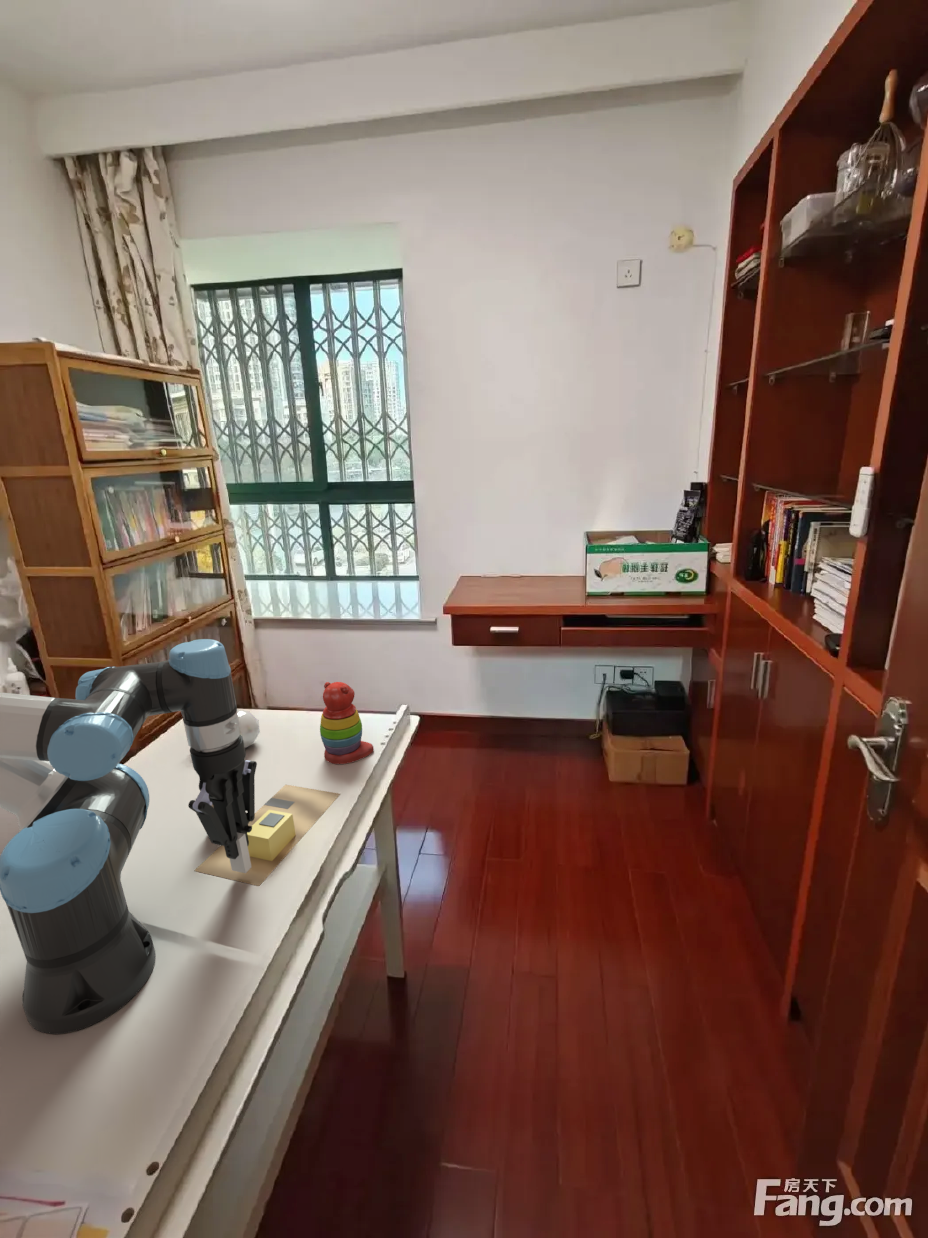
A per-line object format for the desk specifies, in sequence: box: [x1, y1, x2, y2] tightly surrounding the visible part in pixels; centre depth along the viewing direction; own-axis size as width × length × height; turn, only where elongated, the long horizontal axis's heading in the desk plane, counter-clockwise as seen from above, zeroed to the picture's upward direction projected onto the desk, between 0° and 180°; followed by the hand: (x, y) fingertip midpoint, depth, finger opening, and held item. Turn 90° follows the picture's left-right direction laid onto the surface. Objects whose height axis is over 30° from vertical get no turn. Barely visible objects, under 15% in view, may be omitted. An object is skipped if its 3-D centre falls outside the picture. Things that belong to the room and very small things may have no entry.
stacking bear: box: [319, 681, 375, 765], centre depth 131 cm, size 11×10×18 cm
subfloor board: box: [194, 784, 341, 887], centre depth 107 cm, size 26×18×1 cm
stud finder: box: [247, 810, 296, 861], centre depth 102 cm, size 7×5×5 cm
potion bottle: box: [237, 708, 261, 749], centre depth 138 cm, size 9×10×15 cm
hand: (241, 868), depth 95 cm, fingers closed
